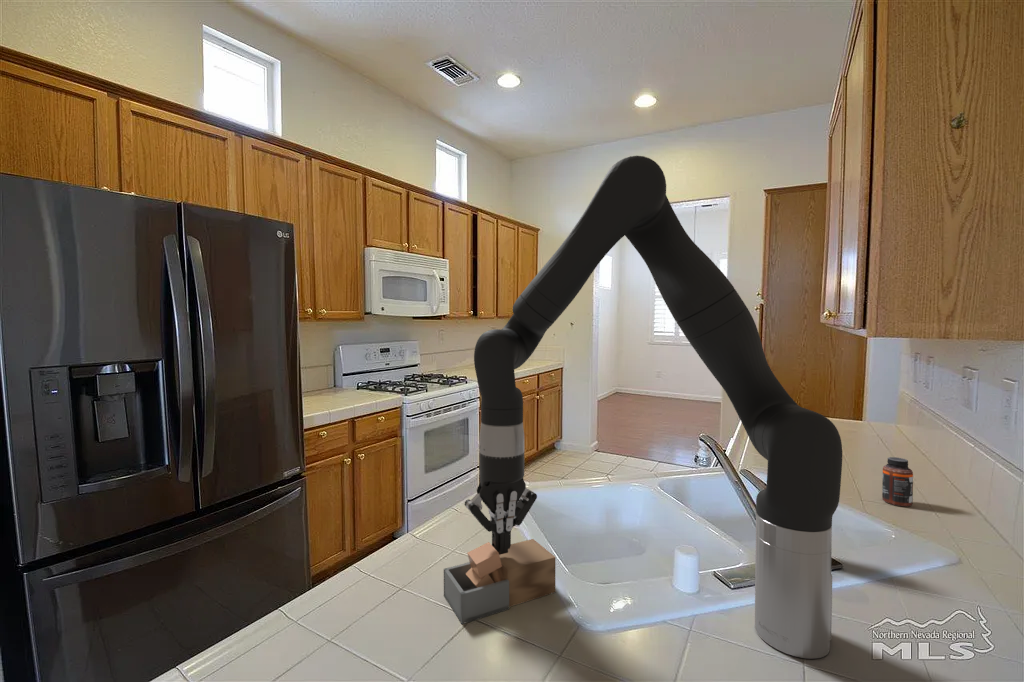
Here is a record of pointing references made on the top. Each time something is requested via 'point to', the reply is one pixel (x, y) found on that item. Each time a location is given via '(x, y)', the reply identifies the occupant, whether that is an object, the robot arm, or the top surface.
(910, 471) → the supplement bottle
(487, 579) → the tile
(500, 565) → the tile
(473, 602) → the tray
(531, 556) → the brown block
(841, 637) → the top surface
